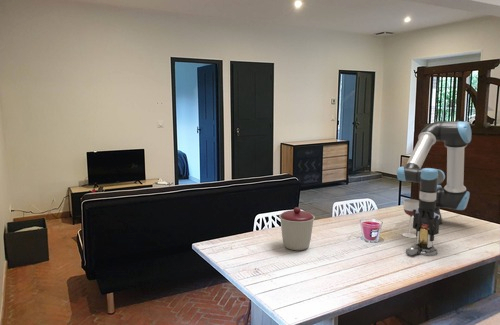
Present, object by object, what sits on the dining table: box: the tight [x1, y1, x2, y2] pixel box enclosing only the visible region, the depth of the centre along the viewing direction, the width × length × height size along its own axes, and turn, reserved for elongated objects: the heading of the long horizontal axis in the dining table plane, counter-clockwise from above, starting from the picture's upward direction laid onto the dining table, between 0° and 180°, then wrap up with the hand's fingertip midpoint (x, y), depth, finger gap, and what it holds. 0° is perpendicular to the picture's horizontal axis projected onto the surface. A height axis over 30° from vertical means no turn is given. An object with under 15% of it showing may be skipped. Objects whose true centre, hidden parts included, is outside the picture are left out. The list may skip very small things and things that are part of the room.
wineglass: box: [402, 198, 420, 239], centre depth 205 cm, size 8×9×20 cm
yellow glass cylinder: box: [419, 223, 430, 248], centre depth 184 cm, size 5×5×11 cm
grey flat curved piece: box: [405, 242, 438, 257], centre depth 183 cm, size 18×12×4 cm, turn 121°
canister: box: [278, 206, 316, 251], centre depth 189 cm, size 18×18×21 cm
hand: (424, 244), depth 184 cm, fingers closed on yellow glass cylinder, 5 cm apart
